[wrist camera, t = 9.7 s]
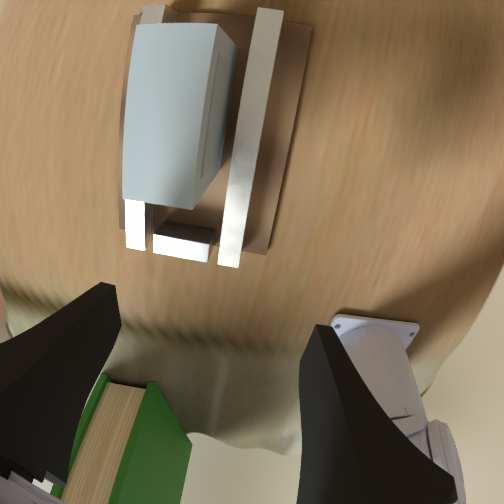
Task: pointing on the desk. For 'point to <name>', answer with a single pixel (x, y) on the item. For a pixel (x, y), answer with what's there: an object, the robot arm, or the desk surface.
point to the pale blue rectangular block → (176, 111)
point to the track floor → (272, 140)
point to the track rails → (242, 163)
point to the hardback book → (126, 449)
